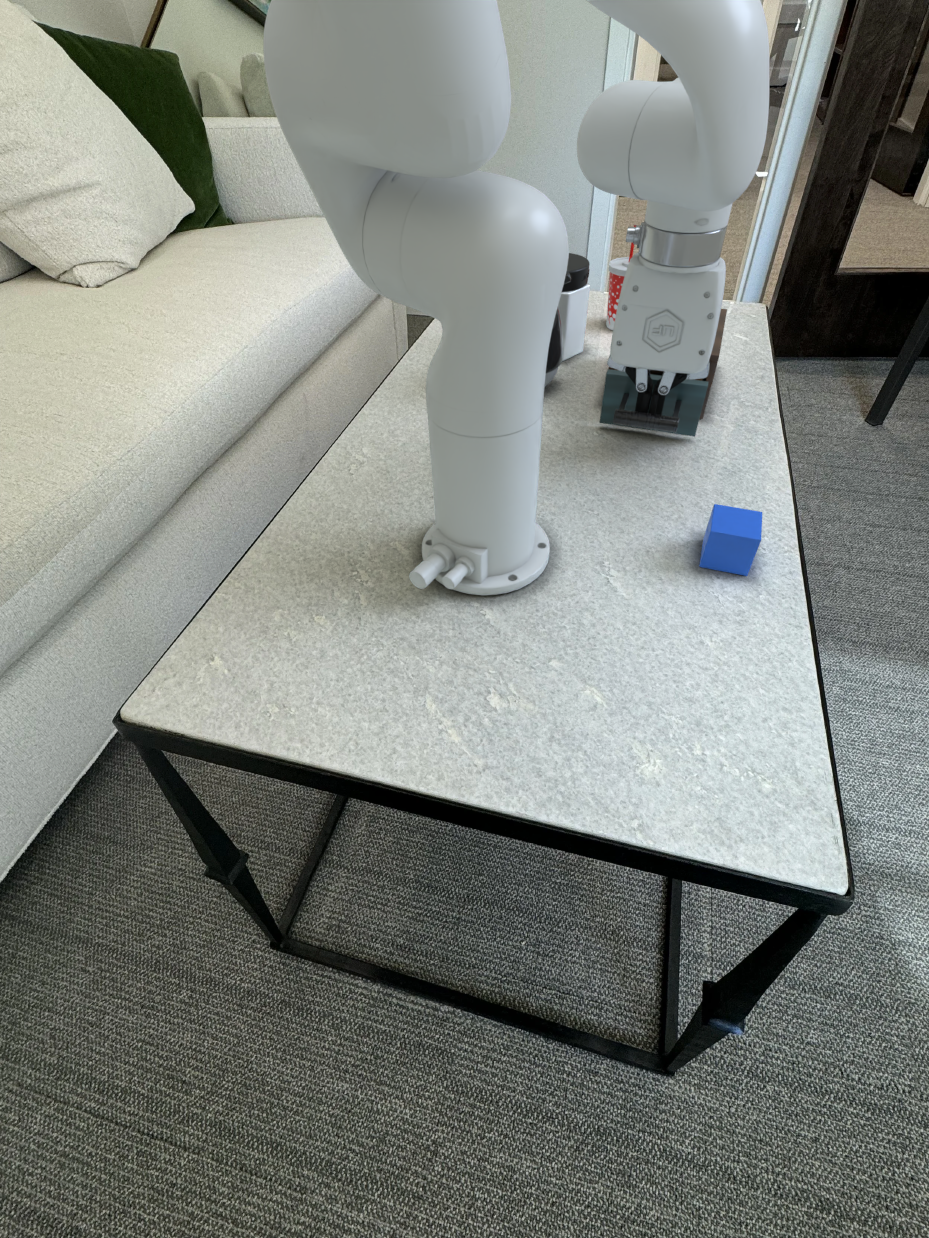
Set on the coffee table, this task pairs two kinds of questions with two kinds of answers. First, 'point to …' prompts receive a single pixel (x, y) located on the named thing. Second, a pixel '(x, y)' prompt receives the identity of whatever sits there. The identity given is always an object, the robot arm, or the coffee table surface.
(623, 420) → the drawer
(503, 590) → the robot arm
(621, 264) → the beverage cup
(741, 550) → the blue block
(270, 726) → the coffee table surface
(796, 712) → the coffee table surface
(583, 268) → the jar
